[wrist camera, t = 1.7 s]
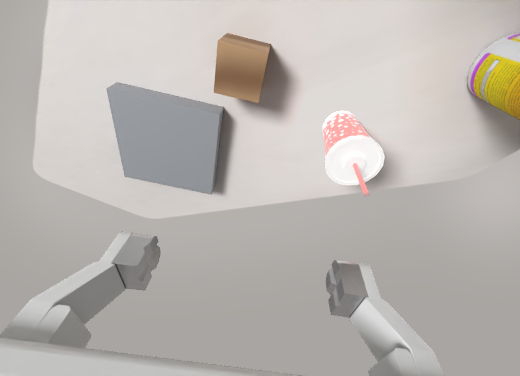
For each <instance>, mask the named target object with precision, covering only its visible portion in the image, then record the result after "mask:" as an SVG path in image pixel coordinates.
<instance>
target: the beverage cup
mask: <svg viewBox="0 0 520 376" xmlns="http://www.w3.org/2000/svg"><path fill="white" fill-rule="evenodd" d="M323 138H324V145H325V153H326V157H325V169H326V172H327V174H328V176H329V178H330V179H332V180H333V181H335V182H336V183H338V184H342V185H346V186H347V185H358V184H360V186H361V189H362V191H363V194H364V196H368V195H369V192H368V189H367V187H366V185H365V182H367V181H369V180H370V179H371V178H373V177H374V176H376V175H377V174H378V172H379V171H380V169H381V168H382V167H383V163H384V159H385V155H384V152H383V149H382V147H381V146H380V145H379V143H377V142H376V141H375V140H374V139H373V138H371V137H370V135H369V134H368V133H367V131H366V130H365V129H364V127H363V126H362V125H361V124H360V122H359V121H358V120H357V118H356V117H355V116H354V115H353V114H352V113H351V112H347V111H337V112H335V113H333V114H331V115H330V116H329V117H328V118H327V119H326V120H325V122H324V124H323Z"/></svg>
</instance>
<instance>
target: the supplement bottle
mask: <svg viewBox="0 0 520 376" xmlns="http://www.w3.org/2000/svg"><path fill="white" fill-rule="evenodd" d="M467 84H468V88H469V90H470V91H471V92H472V93H473V94H474V95H475V96H477V97H479V98H480V99H482V100H484V101H486V102H488V103H489V104H491V105H493V106H495V107H497V108H499V109H500V110H502V111H504V112H506V113H508V114H510V115H511V116H513V117H515V118H517V119H519V120H520V33H514V34H511V35H508V36H505V37H503V38H501V39H499V40H497V41H496V42H494V43H493V44H491V45H490V46H488V47H487V48H486V49H485V50H484V51H483V52H482V53H481V54H480V55H479V56H478V57H477V58H476V60H475V61H474V63H473V64H472V66H471V68H470V70H469V73H468V78H467Z"/></svg>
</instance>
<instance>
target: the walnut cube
mask: <svg viewBox="0 0 520 376" xmlns="http://www.w3.org/2000/svg"><path fill="white" fill-rule="evenodd" d="M270 45H271V44H268V43H264V42H260V41H256V40H252V39H248V38H244V37H240V36H236V35H233V34H229V33H227V34H226V35H224V36H223V37H222V38H221V39H220V40H218V47H217V59H216V72H215V84H214V93H218V94H222V95H226V96H230V97H235V98H239V99H243V100H247V101H252V102H256V103H259V98H260V94H261V89H262V84H263V79H264V74H265V70H266V65H267V60H268V55H269V50H270Z"/></svg>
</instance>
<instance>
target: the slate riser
mask: <svg viewBox="0 0 520 376" xmlns="http://www.w3.org/2000/svg"><path fill="white" fill-rule="evenodd" d="M107 93H108V98H109V103H110V108H111V113H112V117H113V122H114V127H115V132H116V137H117V141H118V146H119V151H120V156H121V161H122V165H123V170H124V175H125V177H129V178H134V179H139V180H144V181H149V182H153V183H158V184H163V185H168V186H173V187H178V188H183V189H188V190H193V191H198V192H202V193H207V194H212V192H213V189H214V186H215V179H216V170H217V161H218V152H219V143H220V134H221V125H222V116H223V107H221V106H217V105H212V104H208V103H204V102H200V101H195V100H191V99H187V98H182V97H178V96H174V95H170V94H165V93H161V92H157V91H152V90H148V89H144V88H139V87H135V86H131V85H127V84H122V83H118V82H117V83H115V84H114V85H112V86H110V87H108V88H107Z"/></svg>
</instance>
